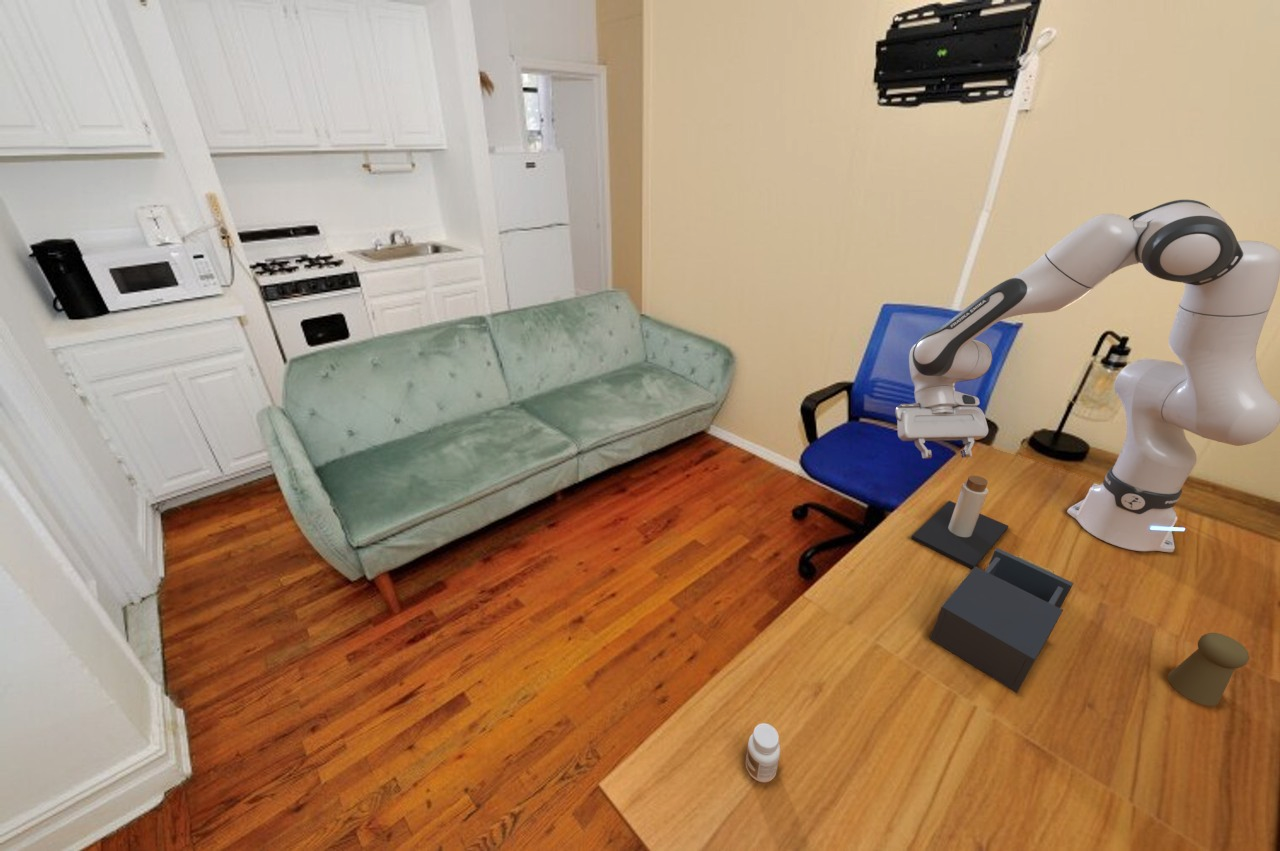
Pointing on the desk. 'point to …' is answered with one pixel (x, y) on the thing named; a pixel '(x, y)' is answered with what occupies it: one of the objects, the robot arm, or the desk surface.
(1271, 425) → the robot arm
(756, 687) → the desk surface
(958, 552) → the mat
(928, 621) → the desk surface
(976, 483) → the pepper mill
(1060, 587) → the drawer
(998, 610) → the cabinet
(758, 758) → the pill bottle
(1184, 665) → the cork
